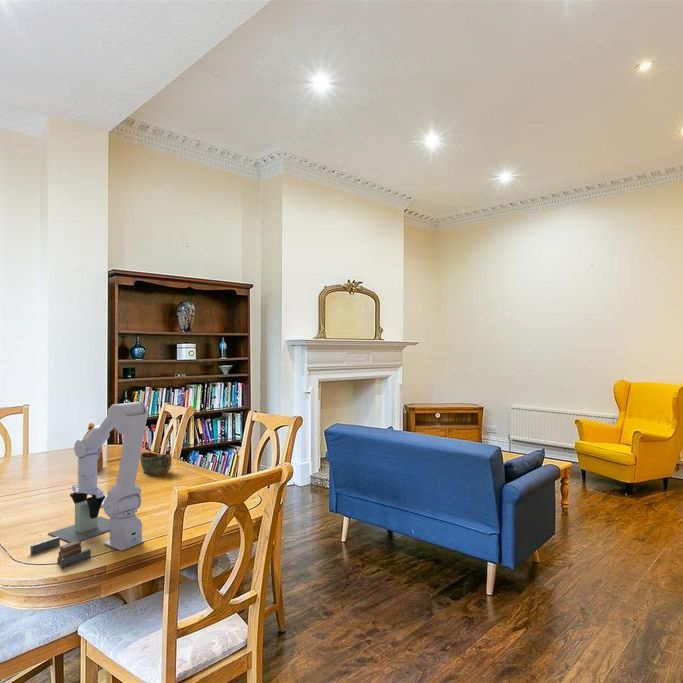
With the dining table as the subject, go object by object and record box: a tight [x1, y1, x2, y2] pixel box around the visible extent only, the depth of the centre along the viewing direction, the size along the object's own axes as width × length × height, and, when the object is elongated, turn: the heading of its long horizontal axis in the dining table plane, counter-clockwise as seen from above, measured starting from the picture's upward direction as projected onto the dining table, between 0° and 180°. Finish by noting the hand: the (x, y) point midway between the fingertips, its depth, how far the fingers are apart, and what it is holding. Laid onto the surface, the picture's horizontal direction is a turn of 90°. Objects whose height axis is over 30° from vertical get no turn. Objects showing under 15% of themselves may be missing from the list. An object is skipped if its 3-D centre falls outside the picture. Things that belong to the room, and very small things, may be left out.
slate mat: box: [47, 516, 110, 544], centre depth 164 cm, size 14×18×1 cm
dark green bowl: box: [140, 451, 172, 477], centre depth 233 cm, size 13×20×10 cm, turn 25°
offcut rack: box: [30, 537, 92, 570], centre depth 144 cm, size 17×8×2 cm, turn 58°
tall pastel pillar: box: [74, 501, 99, 533], centre depth 163 cm, size 3×6×9 cm, turn 148°
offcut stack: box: [56, 541, 83, 566], centre depth 141 cm, size 2×6×5 cm, turn 148°
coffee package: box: [82, 422, 104, 473], centre depth 238 cm, size 10×12×22 cm
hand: (87, 515), depth 164 cm, fingers open, 7 cm apart
